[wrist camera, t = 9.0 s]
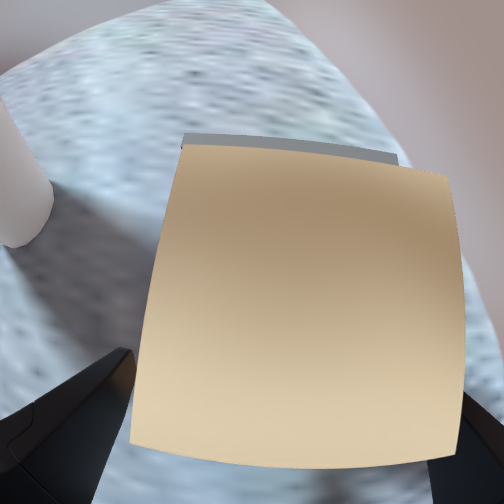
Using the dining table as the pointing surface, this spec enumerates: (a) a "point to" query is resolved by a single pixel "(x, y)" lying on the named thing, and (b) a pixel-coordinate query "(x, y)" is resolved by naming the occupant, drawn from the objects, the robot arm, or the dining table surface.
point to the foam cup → (20, 187)
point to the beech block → (302, 313)
